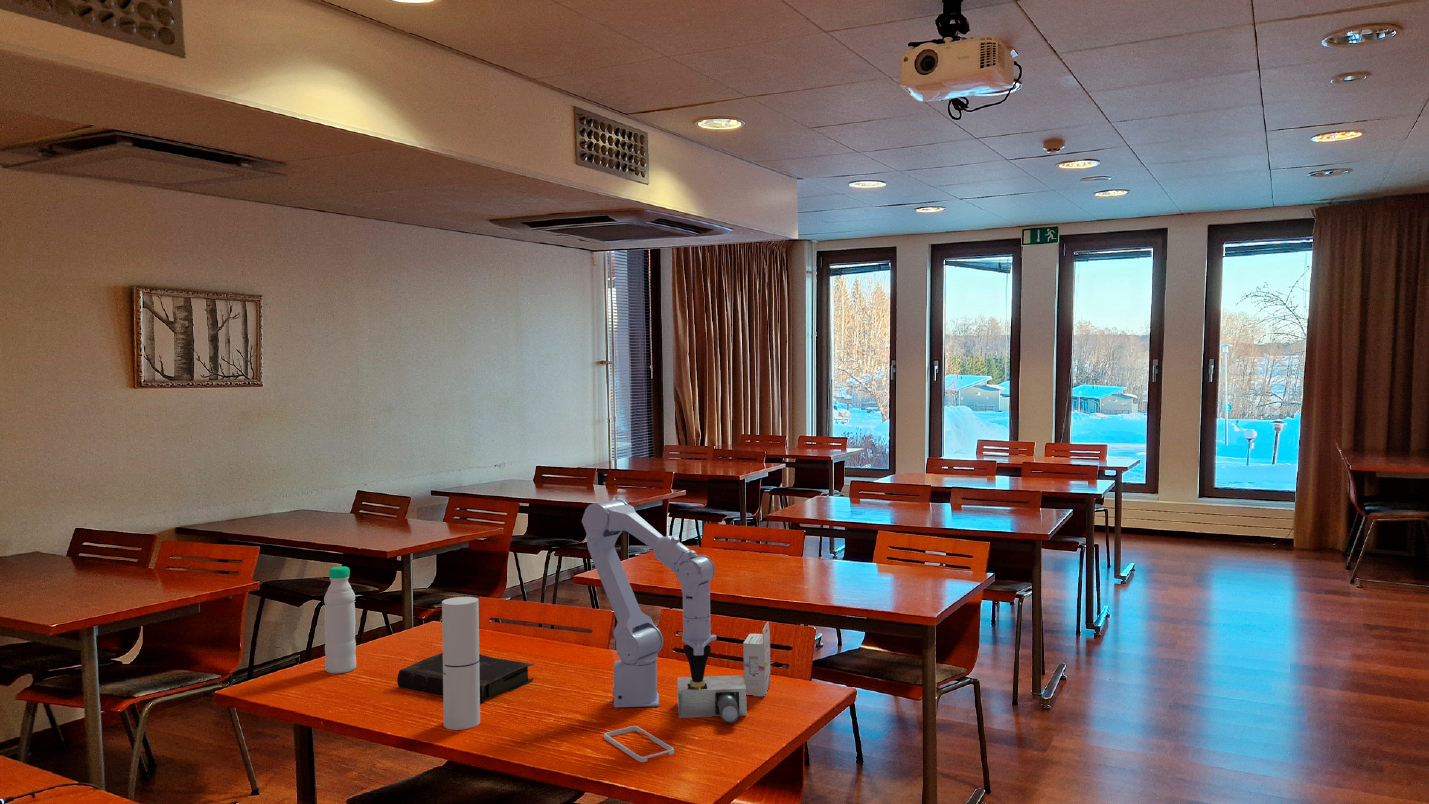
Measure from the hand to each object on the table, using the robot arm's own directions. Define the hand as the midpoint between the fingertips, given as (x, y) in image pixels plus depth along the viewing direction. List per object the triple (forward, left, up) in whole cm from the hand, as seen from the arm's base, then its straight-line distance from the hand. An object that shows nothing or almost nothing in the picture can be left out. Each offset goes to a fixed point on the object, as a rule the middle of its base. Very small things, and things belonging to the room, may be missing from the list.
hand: (697, 680), depth 194 cm
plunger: (0, 0, -2) cm, 2 cm away
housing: (+3, +2, -7) cm, 8 cm away
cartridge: (+6, -2, -7) cm, 9 cm away
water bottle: (-85, +39, -7) cm, 94 cm away
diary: (-52, +25, -8) cm, 58 cm away
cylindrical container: (-48, -1, -7) cm, 49 cm away
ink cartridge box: (+14, +14, -7) cm, 21 cm away
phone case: (-12, -16, -8) cm, 22 cm away
